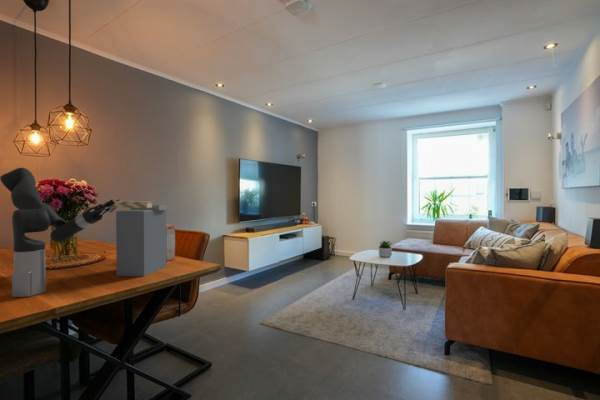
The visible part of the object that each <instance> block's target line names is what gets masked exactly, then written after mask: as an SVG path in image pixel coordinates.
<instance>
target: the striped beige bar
mask: <svg viewBox="0 0 600 400" xmlns="http://www.w3.org/2000/svg"><path fill="white" fill-rule="evenodd" d="M108 201H109V200H104V203H107V202H108ZM114 202H115V203H114V204H113V205H111V206H110V207H117V208H121V209H123V208H127V209H130V208H152V205H153V201H142V200H140V201H139V200H138V201H137V200H136V201H135V200H134V201H133V200H120V201H116V200H114ZM104 203H103V204H104Z"/></svg>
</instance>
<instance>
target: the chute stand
mask: <svg viewBox="0 0 600 400" xmlns="http://www.w3.org/2000/svg"><path fill="white" fill-rule="evenodd" d="M168 207H169V206H168V204H159V205H158V204H152V208H129V209H125V210H116V211H115V217H116V219H115V222H116V223H115V225H116V226H115V228H116V231H115V233H116V234H115V235H116V236H115V237H116V241H115V242H116V244H115V246H116V247H115V248H116V254H115V255H116V276H119V277H120V276H121V277H122V276H123V277H125V276H126V277H128V276H129V277H146V276H148V275H150V274H153V273H156V272H158V271H159V270H162V269H164V268H166V267H167V261H166V224H167V210H168V209H169V208H168ZM165 266H166V267H165ZM163 267H164V268H163Z"/></svg>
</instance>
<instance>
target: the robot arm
mask: <svg viewBox="0 0 600 400" xmlns="http://www.w3.org/2000/svg"><path fill="white" fill-rule="evenodd" d="M0 182H1V183H2V185H4V186H3V187H5V188H6V189H7V190H8V191H9V192H10V198H11V202H12V205H13V206H14V207H15V208H16V210H14V211H13V212H12V217H11V219H12V220H11V221H12V232H13V233H12V234H13V271H12V272H11V285H12V286H11V294H12V298H18V297H19V298H23V297H24V298H25V297H26V298H27V297H33V296H36V295H40V294H43V293H45V292H46V287H47V286H46V284H47V283H46V282H47V281H46V277H47V276H46V275H47V274H46V243H45V241H43V240H40V239H39V240H38V239H33V238H29V237H28V236H26V235H25V234H29V233H42V232H44V231H45V232H46V231H47V230H49V228H50V227H53V228H55V229H53V230H52V231H51V232H50V236H49V237H50V240H52V241H53V242H55V243H61V242H62V243H63V242H65V241H66V240H68V239H69V238H72V237H73V236H74V235H75V234H77V233H79V232H82V231H83V230H85V229H87V228H89V227H91V226H93V225H94V224H96V223H98V222H99V221H101V220H102V219H103V215H104V216H105V215H106V214H107V213H112V212H113V211H114V210H116V209H117V208H118V207H110V206H111V205H113V204H114V203H115V202H114V201H121V199H115V200H114V199H110V200H107V201H108V202H107V203H99V204H98V205H95V206H91V207H89V208H87V209H86V210H84V211H82V212H81V213H79V214H78V215H76V216H75V217H73V218H72V219H70V220H68V221H66V220H65V219H64V218H62V217H60V215H59V214H58V213H57V212H56V211H55V209H54V208H53V207H52V206H51V205H49V204H48V203H45V202H43V201H42V199H41V195H40V192H39V191H38V189H37V183H36V178H35V176H34V174H32V172H31V171H30V170H29V169H27V168H25V167H18V168H15V169H12V170H11V171H8V172H7V173H4V174H2V175H1V176H0Z"/></svg>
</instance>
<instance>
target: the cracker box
mask: <svg viewBox="0 0 600 400" xmlns="http://www.w3.org/2000/svg"><path fill="white" fill-rule="evenodd" d="M175 259H176V225H174V224H167V223H166V262H168V261H169V262H170V261H174V260H175Z"/></svg>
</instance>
